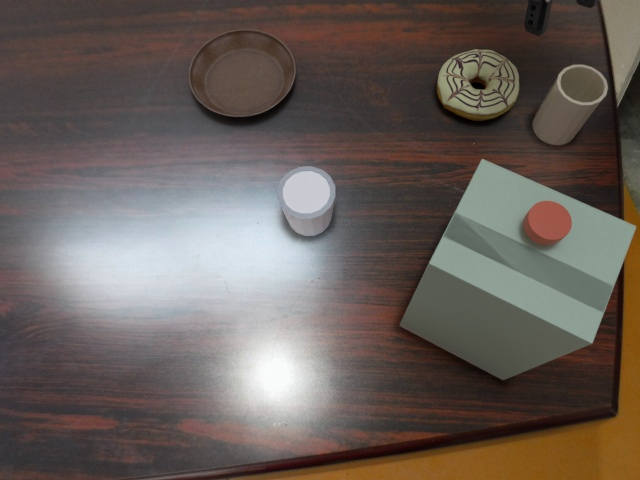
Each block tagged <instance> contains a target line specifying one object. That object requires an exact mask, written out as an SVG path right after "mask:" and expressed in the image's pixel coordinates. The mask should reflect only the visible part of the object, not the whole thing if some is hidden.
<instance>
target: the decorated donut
mask: <svg viewBox="0 0 640 480" xmlns="http://www.w3.org/2000/svg"><path fill="white" fill-rule="evenodd" d="M519 75H520V74H519V72H518V69H517V67H516V65H514V64H513V62H512V61H511V60H510V59H509V58H507V57H505V56H503V55H502V54H499V53H498V52H496V51H494V50H492V49H478V48H476V49H475V48H474V49H472V50H468V51H464V52H461V53H458V54H455V55H453V56H452V57H450V58H449V59H448V60H446V61H445V62H444V63H443V64H442V66H441V68H440V70H439V72H438V77H437V81H436V94H437V97H438V100H439V101H440V103H441V105H442V106H443V108H444V109H445V110H447V111H449V112H451V113H453V114H454V115H456V116H459V117H461V118H464V119H467V120H471V121H474V122H475V121H478V122H479V121H480V122H482V121H489V120H493V119H495V118H498V117H500V116H501V115H503V114H505V113H506V112H507V111H509V110H510V109H511V108H513V106H514V105H515V104H516V102H517V98H518V97H519V92H520V76H519ZM472 83H475V84H476V83H479V84H481V85H482V86H484V89H479V88H475V87H473V86H472Z"/></svg>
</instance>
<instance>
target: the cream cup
mask: <svg viewBox="0 0 640 480" xmlns="http://www.w3.org/2000/svg"><path fill="white" fill-rule="evenodd" d="M608 90H609V85H608V82H607V79H606V77H605V76H604V75H603V74H602V72H601V71H599V70H598V69H596V68H595V67H593V66H590V65H587V64H572V65H571V64H570V65H569V66H566V67H564V68H563V69H562V70H561V71H560V72H559V73H558V74H557V77H556V78H555V80H554V82H553V84H552V85H551V87H550V88H549V90H548V92H547V94H546V95H545V96H544V98H543V101H542V102H541V104H540V105H539V107H538V109H537V111H536V113H535V114H534V116H533V119H532V122H531V123H532V124H531V125H532V131H533V133H534V135H535V136H536V137H537V138H538V139H539V140H541V141H542V142H544V143H545V144H548V145H551V146H563V145H566V144H568V143H570V142H572V140H573V139H575V137H576V136H577V135H578V134H579V132H580V131H581V130H582V128H584V126H585V124H586V123H587V121H588V120H589V119H590V118H591V116H592V115H593V114H594V112H595V111H596V110H597V108H598V107H599V105H600V104H601V103H602V102H603V100H604V99H605V98H606V96H607V94H608Z"/></svg>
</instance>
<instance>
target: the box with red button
mask: <svg viewBox="0 0 640 480" xmlns="http://www.w3.org/2000/svg"><path fill="white" fill-rule="evenodd" d="M541 201H553V202H556V203H559V204H560V205H562V206H563V207H564V208H565V209H566V210H567V211H568V212H569V214H570V216H571V219H572V227H571V230H570V232H569V233H568V234H567V235H566V236H565V237H564V238H563V239H562V240H561V241H560V242H558V243H556V244H554V245H541V244H538V243H536V242H534V241H533V240H532V239H530V238H529V237H528V235H527V234H526V232H525V230H524V225H523V222H524V218H525V216H526V214H527V213H528V211H529V210H530V209H531V208H532V207H533V206H534V205H535V204H536V203H538V202H541ZM637 228H638V227H637V225H635V224H632V223H630V222H628V221H626V220H623V219H621V218H619V217H616V216H614V215H612V214H610V213H607V212H605V211H603V210H602V209H601V210H600V209H598V208H596V207H594V206H592V205H590V204H587V203H584V202H582V201H579V200H578V199H576V198H573V197H571V196H568V195H566V194H564V193H562V192H559V191H558V190H555V189H552V188H550V187H548V186H547V185H546V186H545V185H543V184H541V183H539V182H537V181H535V180H532V179H530V178H528V177H525V176H523V175H520V174H518V173H516V172H514V171H512V170H509V169H507V168H505V167H502V166H500V165H497V164H496V163H493V162H491V161H489V160H486V159H484V158H481V160H480V162H479V164H478V165H477V167H476V170H475V171H474V173H473V175H472V177H471V179H470V181H469V183H468V185H467V187H466V189H465V191H464V193H463V195H462V197H461V199H460V201H459V203H458V205H457V207H456V208H455V211H454V212H453V215H452V217H451V218H450V220H449V222H448V224H447V226H446V229H445V230H444V232H443V234H442V236H441V238H440V239H439V242H438V244H437V246H436V248H435V250H434V251H433V254H432V256H431V258H430V260H429V262H428V264H427V266H426V268H425V270H424V272H423V274H422V276H421V278H420V280H419V282H418V285H417V288H416V289H415V291H414V293H413V296H412V297H411V299H410V302H409V304H408V306H407V308H406V310H405V312H404V314H403V316H402V318H401V321H400V323H399V327H400V328H403V329H404V330H406V331H408V332H410V333H411V334H413V335H415V336H418V337H419V338H421V339H423V340H425V341H427V342H429V343H431V344H433V345H435V346H436V347H439V348H440V349H443V350H444V351H446V352H447V353H450V354H452V355H454V356H456V357H458V358H459V359H461V360H464V361H465V362H467V363H469V364H471V365H473V366H474V367H477V368H479V369H480V370H482V371H484V372H486V373H488V374H490V375H492V376H494V377H496V378H498V379H500V380H501V381H505V380H508V379H510V378H512V377H515V376H517V375H520V374H522V373H524V372H527V371H529V370H531V369H534V368H536V367H540V366H542V365H544V364H546V363H549V362H552V361H553V360H556V359H558V358H561V357H563V356H566V355H568V354H570V353H573V352H576V351H578V350H580V349H583V348H585V347H587V346H590V345H593V344H594V341H595V338H596V335H597V332H598V330H599V327H600V325H601V322H602V319H603V317H604V315H605V312H606V309H607V306H608V304H609V301H610V298H611V296H612V293H613V291H614V288H615V285H616V282H617V280H618V278H619V275H620V272H621V270H622V267H623V264H624V261H625V259H626V256H627V253H628V251H629V248H630V245H631V243H632V240H633V238H634V235H635V233H636V229H637Z"/></svg>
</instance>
